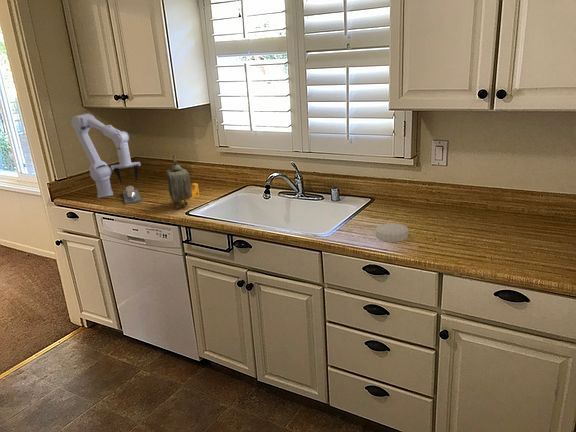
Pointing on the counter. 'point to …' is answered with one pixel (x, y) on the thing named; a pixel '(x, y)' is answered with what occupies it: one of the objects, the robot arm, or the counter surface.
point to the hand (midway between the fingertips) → (128, 181)
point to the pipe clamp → (194, 191)
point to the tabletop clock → (178, 183)
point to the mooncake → (391, 232)
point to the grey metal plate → (132, 200)
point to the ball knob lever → (130, 191)
